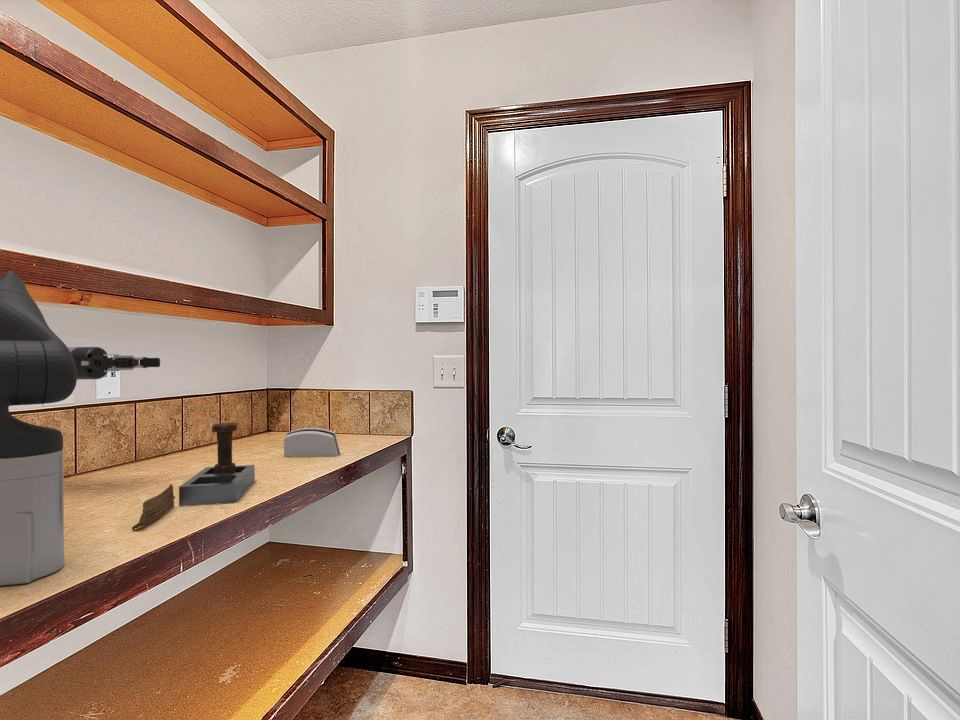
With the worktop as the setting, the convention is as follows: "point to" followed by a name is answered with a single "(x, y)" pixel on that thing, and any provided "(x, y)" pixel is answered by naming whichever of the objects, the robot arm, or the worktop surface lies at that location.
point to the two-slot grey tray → (216, 486)
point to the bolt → (224, 447)
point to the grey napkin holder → (311, 443)
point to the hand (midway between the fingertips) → (147, 362)
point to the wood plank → (156, 507)
